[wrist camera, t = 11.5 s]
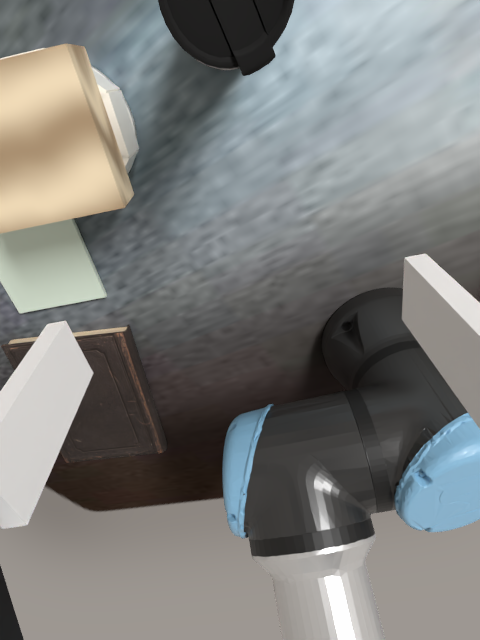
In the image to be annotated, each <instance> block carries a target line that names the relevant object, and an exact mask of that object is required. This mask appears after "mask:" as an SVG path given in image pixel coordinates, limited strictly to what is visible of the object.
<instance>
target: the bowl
mask: <svg viewBox="0 0 480 640" xmlns="http://www.w3.org/2000/svg"><path fill="white" fill-rule="evenodd" d="M42 49H46V48H42ZM42 49H38V50H42ZM38 50H34V51H38ZM30 52H33V51H30ZM25 53H29V52H25ZM25 53H21V54H25ZM21 54H17V55H21ZM17 55H13V56H17ZM13 56H9V57H13ZM9 57H5V58H9ZM5 58H1V59H5ZM1 59H0V60H1ZM91 67H92V70H93V73H94V76H95V79H96V82H97V85H98V88H99V91H100V94H101V97H102V100H103V103H104V106H105V109H106V112H107V115H108V118H109V120H110V123H111V126H112V129H113V132H114V135H115V138H116V141H117V144H118V147H119V150H120V153H121V156H122V159H123V162H124V165H125V168H126V171H127V174H128V173H129V171H130V170H131V168H132V165H133V163H134V160H135V157H136V155H137V153H138V151H139V149H138V148H139V146H138V143H137V131H136V125H135V121H134V118H133V115H132V112H131V109H130V107H129V105H128V103H127V101H126V100H125V98H124V96H123V94H122V91H121V90H119V89H120V88H119V87H117V86H116V85H115V84H114V83H113V82H112V81H111V80H110V79H109V78H108V77H107V76H105V75H104V74H103V73H102V72H100V71H99V70H98V69H96V68H94V67H93V66H91Z"/></svg>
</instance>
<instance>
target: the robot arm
mask: <svg viewBox="0 0 480 640" xmlns="http://www.w3.org/2000/svg"><path fill="white" fill-rule="evenodd" d="M321 346H322V353H323V356H324V359H325V362H326V365H327V367H328V369H329V371H330V372H331V374H332V375H333V376H334V377H335V378H336V379H337V380H338V381H339V382H340V383H341V384H342V385H343V386H344V387H345V388H346V389H347V391H341V392H336V393H332V394H328V395H323V396H319V397H314V398H309V399H304V400H299V401H294V402H289V403H284V404H279V405H273V404H269V405H267V406H266V407H265V408H261V409H258V410H254V411H250V412H247V413H243V414H240V415H239V416H237V417H236V418H235V419H234V420H233V421H232V422H231V424H230V426H229V428H228V431H227V435H226V438H225V444H224V452H223V496H224V505H225V509H226V512H227V519H228V524H229V527H230V530H231V531H232V533H233V534H234V535H235V536H239V537H241V538H247V537H249V541H250V547H251V554H252V559H253V560H254V561H255V562H256V563H258V564H259V565H260V566H261V567H263V568H264V569H265V570H266V571H267V572H268V573H269V574H270V576H271V577H272V580H273V586H274V592H275V598H276V604H277V610H278V616H279V622H280V627H281V634H282V639H283V640H385V636H384V632H383V628H382V624H381V621H380V617H379V613H378V609H377V605H376V601H375V598H374V594H373V590H372V586H371V582H370V578H369V575H368V571H367V567H366V563H365V560H366V556H367V554H368V552H369V550H370V548H371V546H372V544H373V542H374V540H375V539H376V535H375V532H374V528H373V525H372V521H371V518H370V515H371V514H373V513H379V512H385V511H390V510H396V511H397V514H398V515H399V516H400V518H401V519H403V521H404V522H405V523H406V524H407V525H409V526H410V527H412V528H413V529H416V530H423V529H425V530H426V531H428V532H442V531H448V530H452V529H456V528H459V527H462V526H465V525H467V524H470V523H473V522H475V521H477V520H479V519H480V303H479V302H478V301H477V300H476V299H475V298H474V297H473V296H472V295H471V294H469V293H468V292H467V291H466V290H465V289H464V288H463V287H462V286H461V285H460V284H458V283H457V282H456V281H455V280H454V279H453V278H452V277H451V276H450V275H449V274H447V273H446V272H445V271H444V270H443V269H442V268H441V267H440V266H439V265H438V264H437V263H435V262H434V261H433V260H432V259H431V258H430V257H429V256H428V255H427V254H421V255H415V256H410V257H405V258H404V279H403V289H401V288H381V289H376V290H372V291H368V292H365V293H363V294H360V295H358V296H356V297H354V298H353V299H351V300H349V301H348V302H346V303H345V304H344V305H343V306H341V307H340V308H339V309H338V310H337V311H336V312H335V313H334V314H333V316H332V317H331V318H330V320H329V321H328V323H327V325H326V327H325V329H324V332H323V336H322V343H321ZM92 375H93V371H92V369H91V368H90V366H89V364H88V362H87V360H86V358H85V356H84V354H83V352H82V350H81V349H80V347H79V345H78V343H77V341H76V339H75V337H74V335H73V333H72V332H71V330H70V328H69V326H68V324H67V322H66V321H62V322H56V323H51V324H47V325H46V327H45V328H44V330H43V331H42V333H41V334H40V335H39V337H38V338H37V340H36V341H35V343H34V344H33V345H32V347H31V348H30V350H29V351H28V353H27V354H26V355H25V357H24V358H23V360H22V361H21V363H20V364H19V365H18V367H17V368H16V370H15V371H14V373H13V374H12V375H11V377H10V378H9V380H8V381H7V383H6V384H5V385H4V387H3V388H2V390H1V391H0V527H1V528H2V529H5V528H12V527H18V526H26V525H28V523H29V520H30V518H31V516H32V514H33V511H34V509H35V506H36V504H37V502H38V500H39V497H40V495H41V493H42V490H43V488H44V486H45V484H46V481H47V479H48V477H49V474H50V472H51V470H52V467H53V465H54V463H55V461H56V458H57V456H58V454H59V451H60V449H61V447H62V444H63V442H64V440H65V437H66V435H67V433H68V431H69V428H70V426H71V424H72V421H73V419H74V417H75V414H76V412H77V410H78V408H79V405H80V403H81V401H82V398H83V396H84V394H85V391H86V389H87V387H88V385H89V382H90V380H91V378H92ZM0 640H23V636H22V633H21V630H20V627H19V624H18V620H17V617H16V614H15V611H14V608H13V605H12V602H11V598H10V595H9V592H8V589H7V586H6V582H5V579H4V576H3V573H2V569H1V566H0Z"/></svg>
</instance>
